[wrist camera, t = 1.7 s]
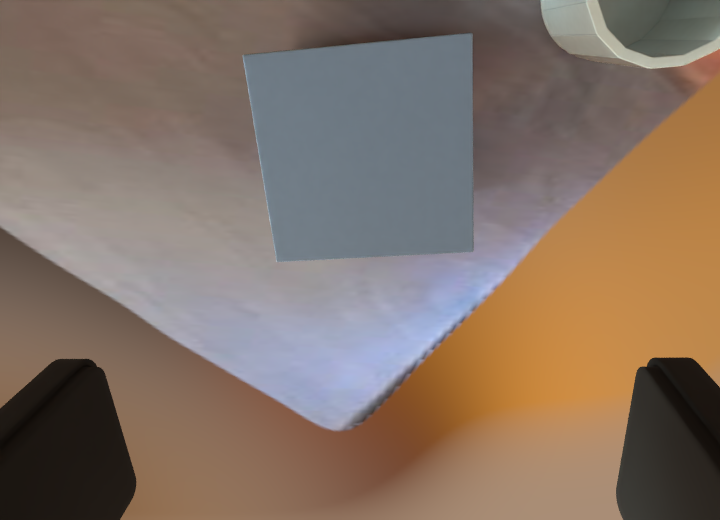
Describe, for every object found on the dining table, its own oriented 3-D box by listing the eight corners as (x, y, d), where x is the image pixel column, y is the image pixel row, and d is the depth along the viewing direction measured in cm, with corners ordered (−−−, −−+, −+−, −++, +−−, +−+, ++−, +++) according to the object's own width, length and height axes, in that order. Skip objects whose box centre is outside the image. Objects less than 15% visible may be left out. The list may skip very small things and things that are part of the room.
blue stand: (286, 50, 27) (242, 54, 19) (453, 33, 26) (472, 32, 18) (307, 207, 30) (276, 262, 23) (456, 198, 29) (473, 252, 22)
